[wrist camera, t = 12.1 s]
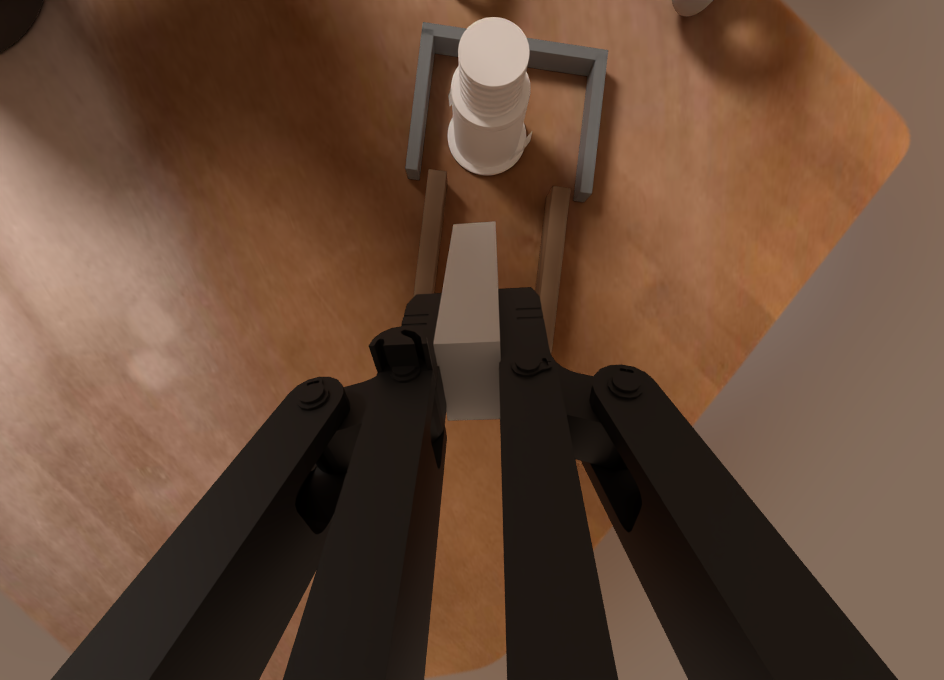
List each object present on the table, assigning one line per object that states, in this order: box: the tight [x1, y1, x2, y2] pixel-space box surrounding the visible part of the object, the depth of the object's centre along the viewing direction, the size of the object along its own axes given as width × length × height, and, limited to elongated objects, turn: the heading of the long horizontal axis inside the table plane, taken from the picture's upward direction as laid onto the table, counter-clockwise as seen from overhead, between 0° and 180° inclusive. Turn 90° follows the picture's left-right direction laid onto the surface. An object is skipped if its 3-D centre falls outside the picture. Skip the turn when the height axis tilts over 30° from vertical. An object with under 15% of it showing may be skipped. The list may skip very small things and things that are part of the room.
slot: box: [413, 169, 571, 353], centre depth 33 cm, size 12×14×2 cm
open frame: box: [405, 22, 608, 202], centre depth 34 cm, size 16×12×2 cm
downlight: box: [448, 17, 532, 175], centre depth 30 cm, size 8×7×10 cm
